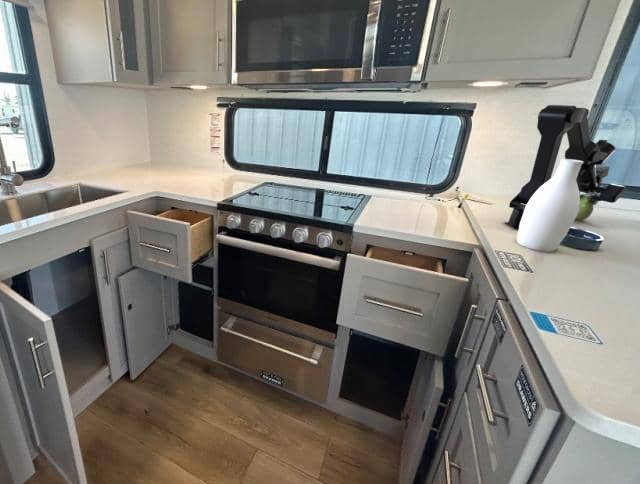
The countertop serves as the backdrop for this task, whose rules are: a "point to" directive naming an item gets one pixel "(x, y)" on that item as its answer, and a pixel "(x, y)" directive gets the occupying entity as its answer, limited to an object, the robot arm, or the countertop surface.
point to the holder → (582, 239)
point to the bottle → (551, 209)
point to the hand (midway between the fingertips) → (587, 202)
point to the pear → (585, 206)
